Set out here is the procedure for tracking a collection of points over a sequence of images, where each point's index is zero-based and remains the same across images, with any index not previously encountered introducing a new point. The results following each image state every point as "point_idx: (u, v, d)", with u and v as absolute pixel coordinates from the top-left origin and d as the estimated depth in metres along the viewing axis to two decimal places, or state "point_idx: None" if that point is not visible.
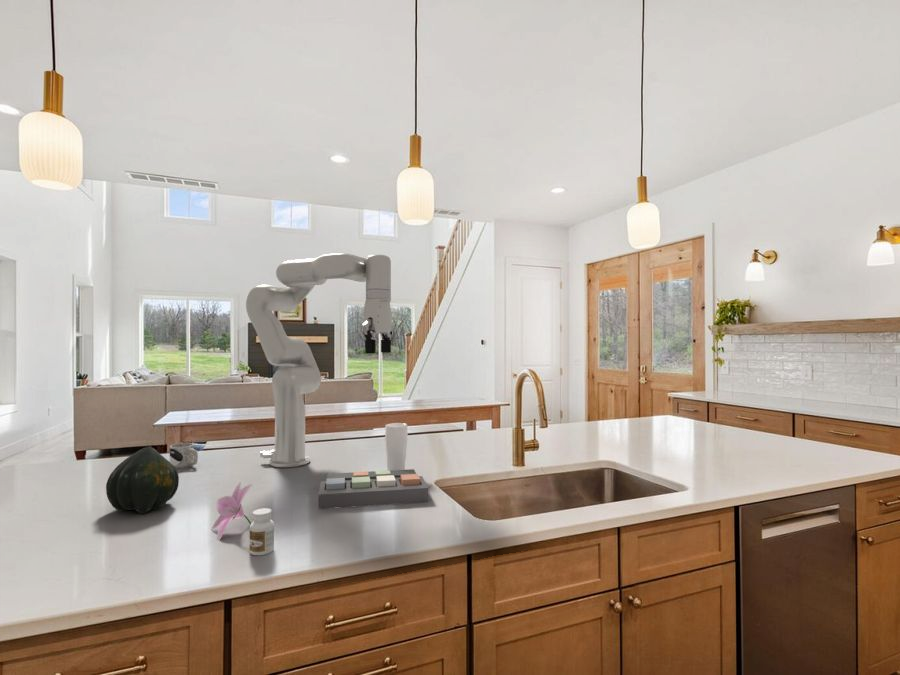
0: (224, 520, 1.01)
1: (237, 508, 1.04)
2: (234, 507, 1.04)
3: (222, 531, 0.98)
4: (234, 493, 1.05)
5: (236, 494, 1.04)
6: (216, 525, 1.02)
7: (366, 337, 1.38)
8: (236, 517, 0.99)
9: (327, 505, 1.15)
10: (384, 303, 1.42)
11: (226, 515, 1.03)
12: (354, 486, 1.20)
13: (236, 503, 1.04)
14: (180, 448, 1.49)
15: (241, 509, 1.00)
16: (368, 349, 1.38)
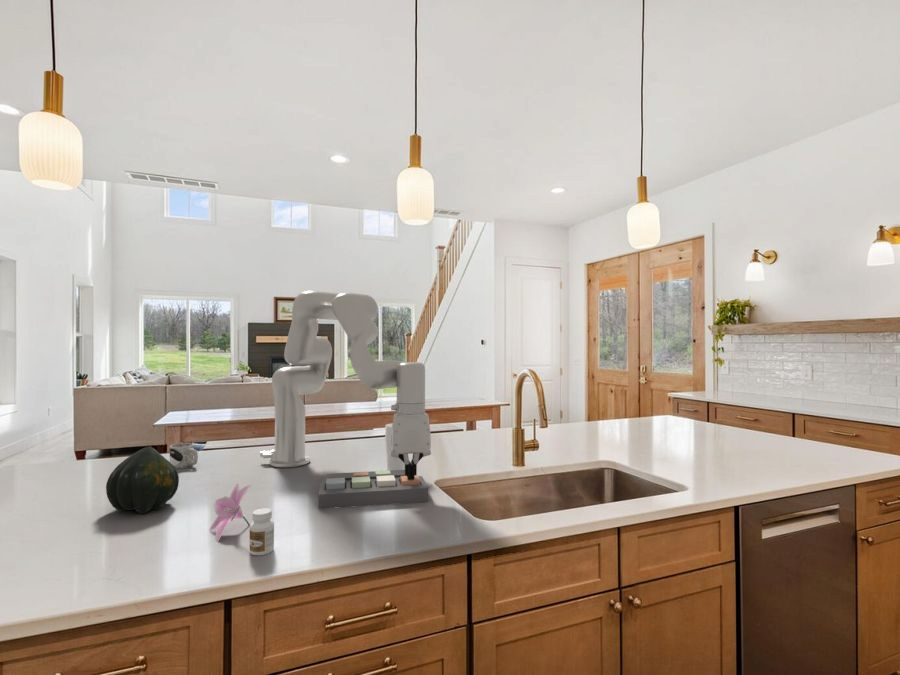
0: (222, 521, 1.00)
1: (235, 509, 1.03)
2: (232, 508, 1.03)
3: (220, 532, 0.97)
4: (232, 494, 1.04)
5: (234, 495, 1.04)
6: (214, 526, 1.01)
7: None
8: (235, 518, 0.98)
9: (327, 505, 1.15)
10: None
11: (224, 516, 1.02)
12: (354, 486, 1.20)
13: (234, 504, 1.03)
14: (180, 448, 1.49)
15: (240, 510, 0.99)
16: None
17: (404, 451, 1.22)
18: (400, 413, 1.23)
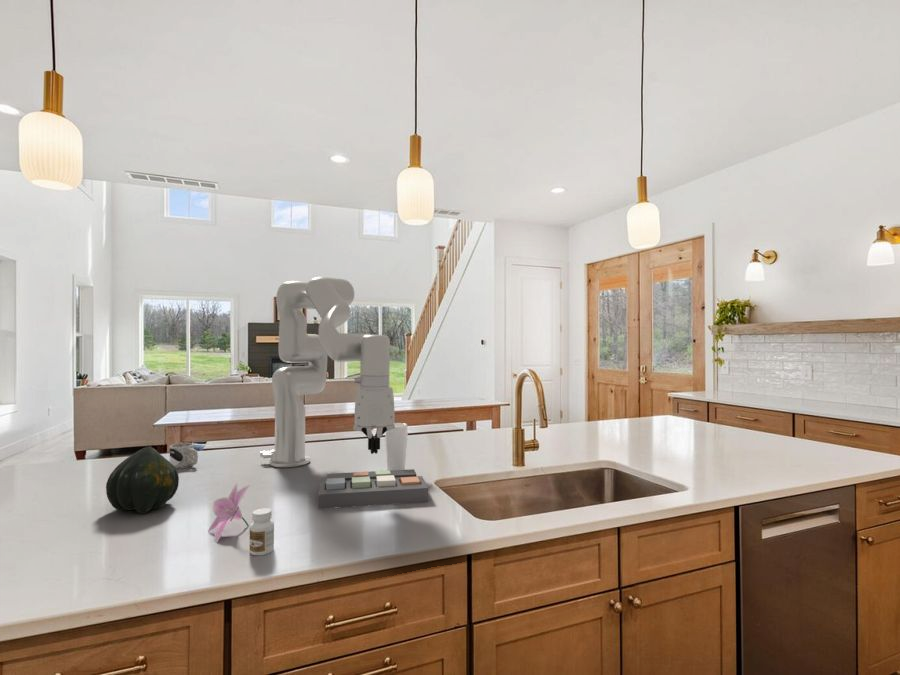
0: (221, 522, 1.00)
1: (234, 510, 1.03)
2: (231, 509, 1.03)
3: (219, 533, 0.97)
4: (231, 495, 1.04)
5: (233, 496, 1.03)
6: (213, 527, 1.01)
7: (382, 434, 1.24)
8: (234, 519, 0.98)
9: (327, 505, 1.15)
10: None
11: (223, 516, 1.02)
12: (354, 486, 1.20)
13: (233, 505, 1.03)
14: (180, 448, 1.49)
15: (239, 511, 0.99)
16: (379, 447, 1.24)
17: (367, 424, 1.20)
18: (363, 386, 1.21)
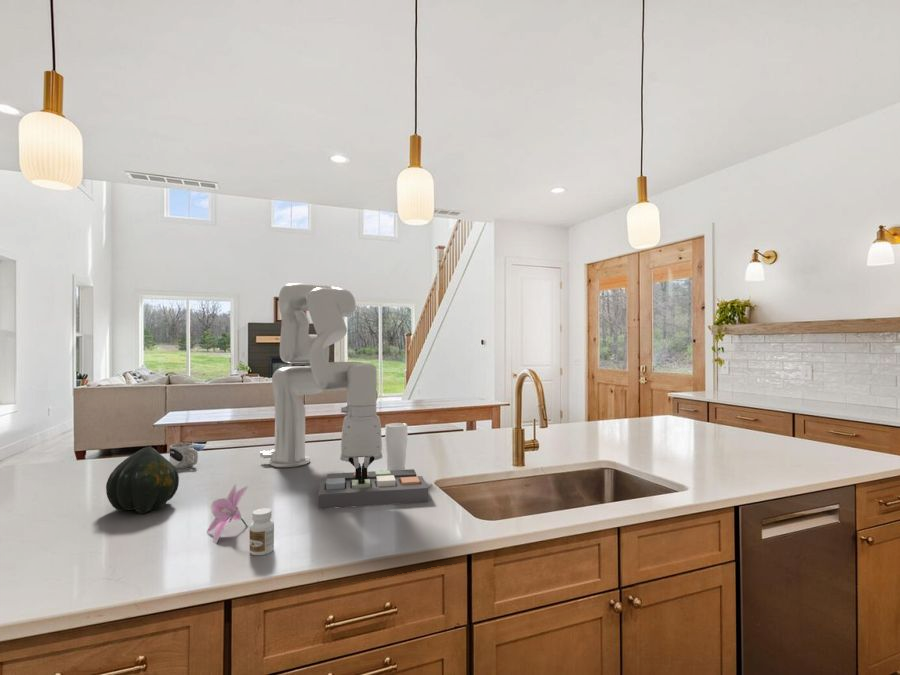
0: (220, 523, 1.00)
1: (233, 510, 1.02)
2: (230, 509, 1.02)
3: (218, 534, 0.96)
4: (230, 495, 1.04)
5: (232, 497, 1.03)
6: (211, 528, 1.00)
7: (369, 464, 1.23)
8: (233, 519, 0.98)
9: (327, 505, 1.15)
10: None
11: (222, 517, 1.01)
12: None
13: (232, 505, 1.02)
14: (180, 448, 1.49)
15: (238, 511, 0.98)
16: None
17: (353, 455, 1.20)
18: (349, 416, 1.20)
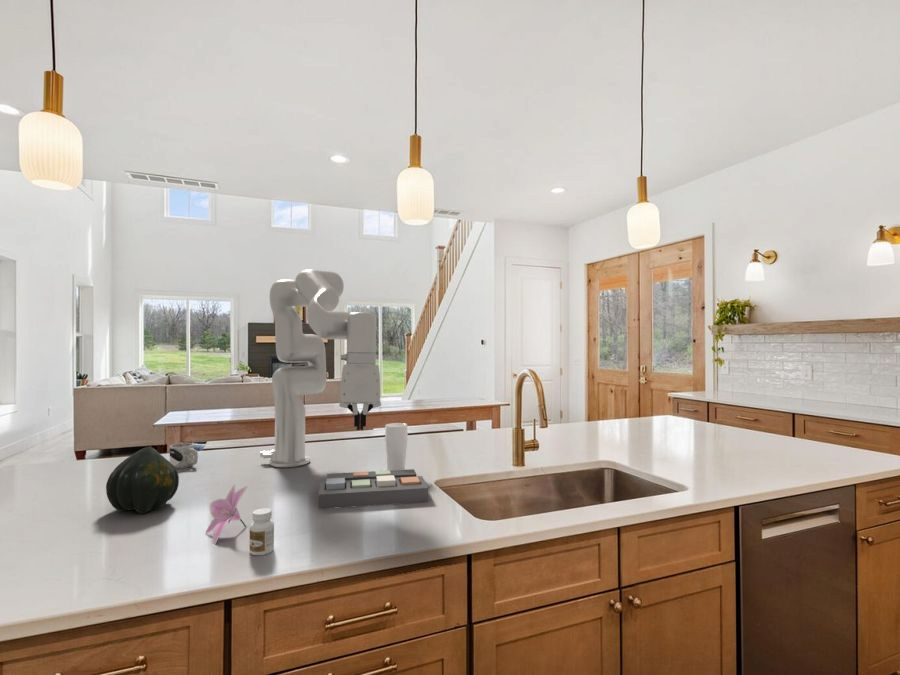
0: (219, 523, 0.99)
1: (232, 511, 1.02)
2: (229, 510, 1.02)
3: (217, 535, 0.96)
4: (228, 496, 1.03)
5: (230, 497, 1.03)
6: (210, 528, 1.00)
7: (368, 411, 1.24)
8: (232, 520, 0.97)
9: (327, 505, 1.15)
10: None
11: (221, 518, 1.01)
12: None
13: (231, 506, 1.02)
14: (180, 448, 1.49)
15: (237, 512, 0.98)
16: (365, 424, 1.25)
17: (352, 401, 1.21)
18: (349, 362, 1.21)
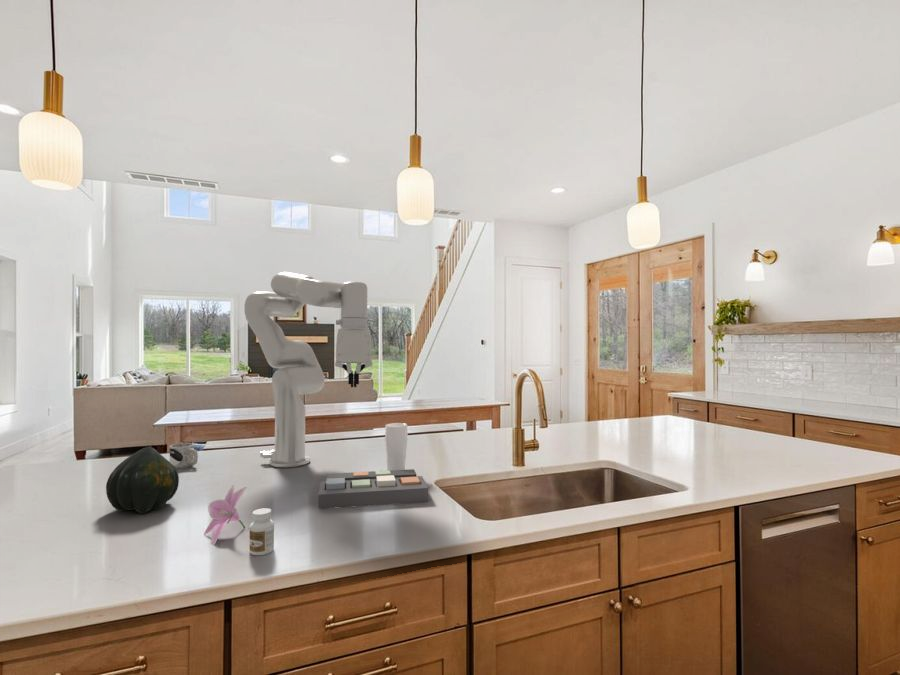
0: (218, 524, 0.99)
1: (231, 512, 1.01)
2: (227, 511, 1.01)
3: (216, 535, 0.96)
4: (227, 496, 1.03)
5: (229, 498, 1.02)
6: (209, 529, 1.00)
7: (360, 371, 1.39)
8: (231, 521, 0.97)
9: (327, 505, 1.15)
10: None
11: (219, 519, 1.00)
12: None
13: (229, 507, 1.02)
14: (180, 448, 1.49)
15: (236, 513, 0.98)
16: (358, 382, 1.39)
17: (346, 360, 1.36)
18: (343, 326, 1.36)
